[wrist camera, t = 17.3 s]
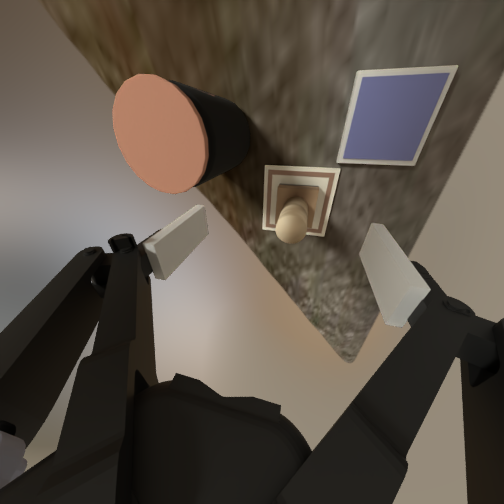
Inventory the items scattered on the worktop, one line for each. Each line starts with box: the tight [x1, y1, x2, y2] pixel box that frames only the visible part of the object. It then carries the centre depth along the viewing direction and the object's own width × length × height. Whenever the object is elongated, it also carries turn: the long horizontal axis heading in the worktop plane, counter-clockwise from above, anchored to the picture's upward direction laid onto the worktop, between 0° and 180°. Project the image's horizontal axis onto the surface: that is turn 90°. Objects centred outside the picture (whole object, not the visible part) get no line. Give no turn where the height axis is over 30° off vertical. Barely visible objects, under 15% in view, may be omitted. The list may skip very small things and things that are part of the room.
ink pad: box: [336, 65, 459, 166], centre depth 27 cm, size 11×11×2 cm
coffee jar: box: [113, 74, 250, 194], centre depth 27 cm, size 11×11×18 cm
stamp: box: [275, 183, 319, 244], centre depth 32 cm, size 7×7×12 cm
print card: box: [263, 165, 340, 237], centre depth 37 cm, size 13×13×1 cm
